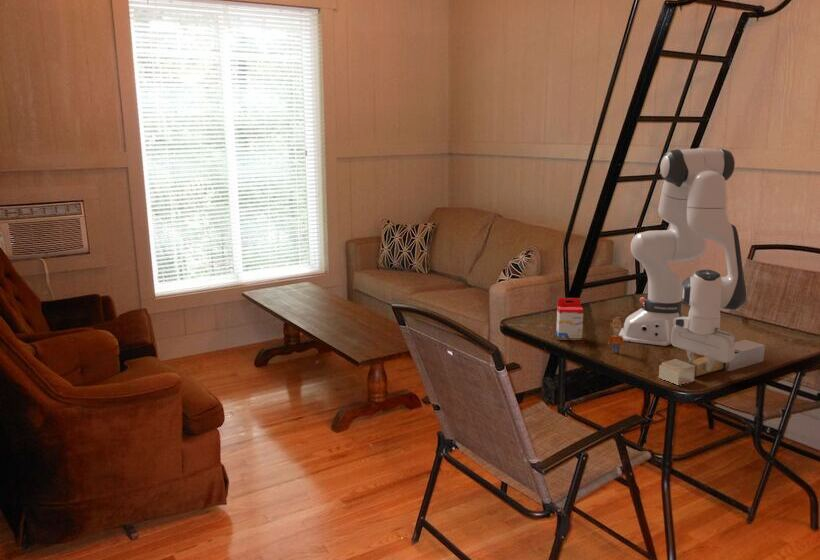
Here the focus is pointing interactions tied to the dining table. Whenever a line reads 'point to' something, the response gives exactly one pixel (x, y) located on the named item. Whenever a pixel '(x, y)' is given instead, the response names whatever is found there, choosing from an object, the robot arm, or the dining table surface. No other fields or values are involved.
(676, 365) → the sleeve and socket
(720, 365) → the tan block
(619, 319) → the toy
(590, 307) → the dining table surface
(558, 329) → the ink box
